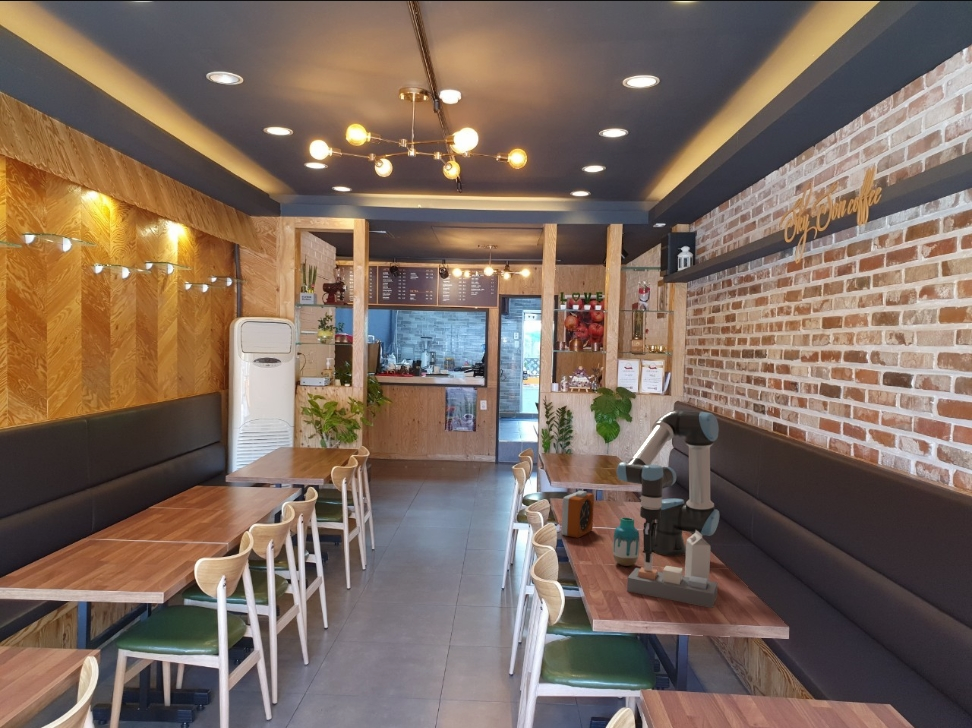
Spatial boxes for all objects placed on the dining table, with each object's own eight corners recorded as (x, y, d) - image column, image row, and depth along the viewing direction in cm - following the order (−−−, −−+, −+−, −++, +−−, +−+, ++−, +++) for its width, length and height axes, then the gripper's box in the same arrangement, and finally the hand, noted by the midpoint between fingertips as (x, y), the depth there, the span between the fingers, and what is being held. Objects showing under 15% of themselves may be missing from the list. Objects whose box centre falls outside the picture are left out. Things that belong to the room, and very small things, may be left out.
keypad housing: (635, 580, 253) (635, 567, 253) (716, 596, 240) (717, 582, 240) (627, 591, 241) (627, 577, 241) (712, 608, 228) (713, 593, 228)
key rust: (641, 582, 249) (641, 566, 249) (657, 585, 246) (657, 569, 246) (637, 586, 243) (638, 571, 243) (653, 590, 241) (654, 574, 241)
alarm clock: (577, 539, 307) (579, 495, 307) (560, 535, 312) (562, 492, 311) (593, 530, 323) (594, 489, 322) (576, 527, 328) (578, 486, 327)
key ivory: (665, 581, 245) (666, 565, 245) (682, 584, 242) (682, 568, 242) (662, 585, 239) (663, 570, 239) (679, 589, 237) (680, 573, 237)
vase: (610, 566, 269) (612, 520, 268) (614, 559, 279) (616, 514, 278) (636, 570, 265) (638, 523, 265) (639, 563, 275) (641, 517, 275)
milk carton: (702, 578, 259) (704, 530, 259) (708, 584, 252) (711, 535, 252) (684, 577, 259) (686, 529, 259) (690, 583, 252) (693, 534, 252)
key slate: (690, 591, 241) (690, 575, 241) (707, 594, 238) (708, 578, 238) (687, 596, 235) (688, 580, 235) (705, 600, 233) (705, 583, 233)
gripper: (644, 502, 252) (641, 563, 252) (636, 509, 240) (633, 573, 240) (664, 505, 248) (661, 567, 249) (657, 512, 237) (654, 577, 237)
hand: (647, 570), depth 244 cm, fingers closed
